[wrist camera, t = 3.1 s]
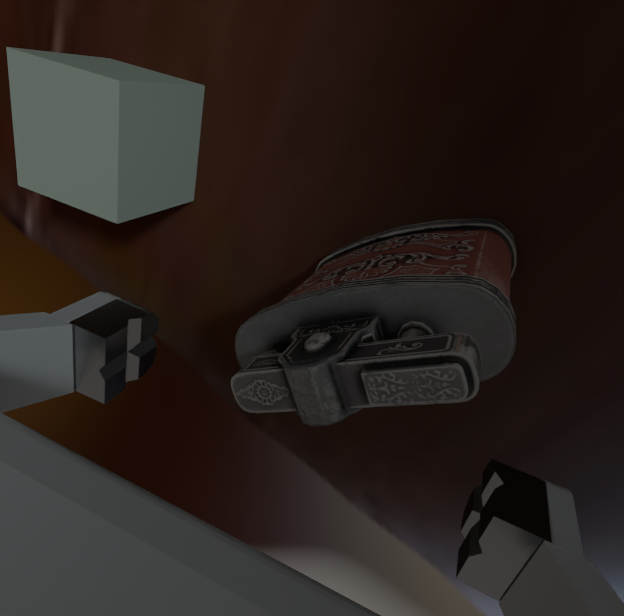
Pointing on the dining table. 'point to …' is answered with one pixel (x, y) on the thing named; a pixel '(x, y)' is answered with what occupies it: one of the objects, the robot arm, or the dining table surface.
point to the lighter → (385, 325)
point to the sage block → (104, 133)
